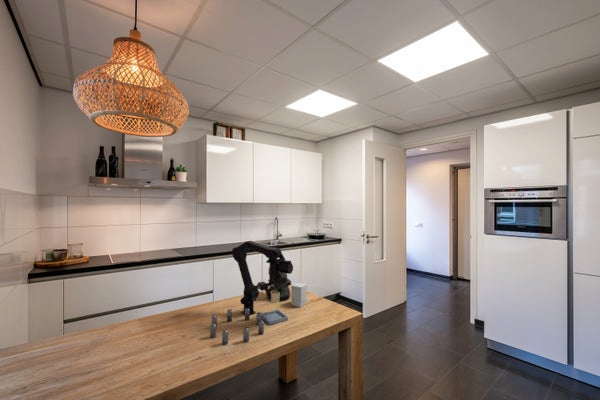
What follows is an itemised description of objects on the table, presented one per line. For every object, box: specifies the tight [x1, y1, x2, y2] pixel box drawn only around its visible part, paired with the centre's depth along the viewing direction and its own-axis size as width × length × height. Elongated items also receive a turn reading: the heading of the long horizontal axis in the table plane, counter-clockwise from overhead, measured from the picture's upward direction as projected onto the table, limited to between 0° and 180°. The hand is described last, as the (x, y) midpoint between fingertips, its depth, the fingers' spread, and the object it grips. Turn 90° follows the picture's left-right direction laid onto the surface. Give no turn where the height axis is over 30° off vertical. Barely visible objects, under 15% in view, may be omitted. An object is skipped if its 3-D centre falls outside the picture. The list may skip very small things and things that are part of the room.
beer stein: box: [265, 266, 291, 303], centre depth 182 cm, size 16×19×25 cm
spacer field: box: [209, 308, 265, 346], centre depth 135 cm, size 27×27×6 cm
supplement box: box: [290, 282, 308, 308], centre depth 169 cm, size 7×7×13 cm
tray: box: [261, 309, 289, 326], centre depth 148 cm, size 11×11×2 cm
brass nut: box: [268, 291, 280, 304], centre depth 148 cm, size 6×5×5 cm
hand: (274, 299), depth 148 cm, fingers closed on brass nut, 5 cm apart
